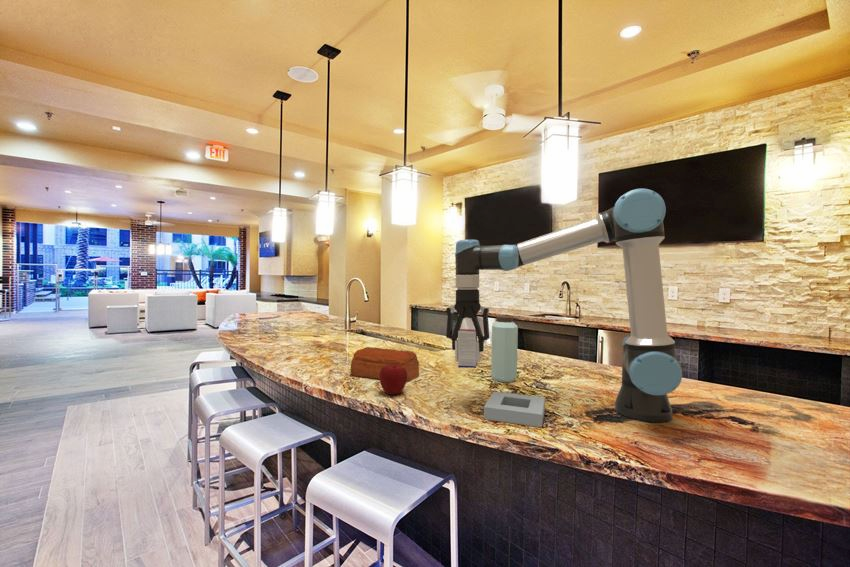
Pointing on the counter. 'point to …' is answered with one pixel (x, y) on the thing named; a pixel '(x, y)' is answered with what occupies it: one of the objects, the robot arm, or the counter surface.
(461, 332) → the supplement box
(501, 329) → the water bottle
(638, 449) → the counter surface
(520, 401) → the socket block
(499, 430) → the counter surface
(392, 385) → the apple
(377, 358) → the bread
